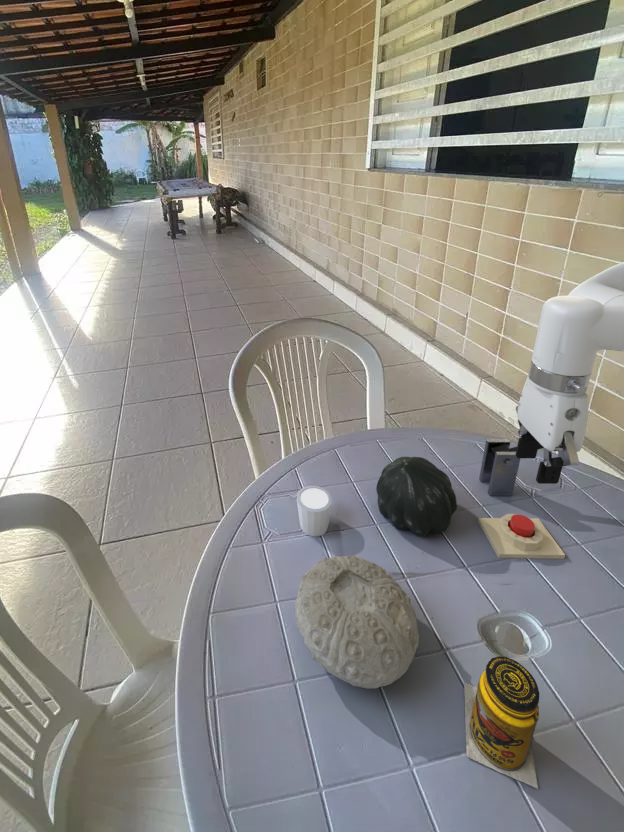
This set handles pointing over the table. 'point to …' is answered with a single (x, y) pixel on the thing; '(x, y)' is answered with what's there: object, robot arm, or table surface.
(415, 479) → the squash
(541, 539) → the control block
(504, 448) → the press lever
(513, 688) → the condiment
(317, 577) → the decorative shell
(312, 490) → the white cylinder
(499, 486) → the grey upright double plates
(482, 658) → the table surface
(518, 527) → the button
